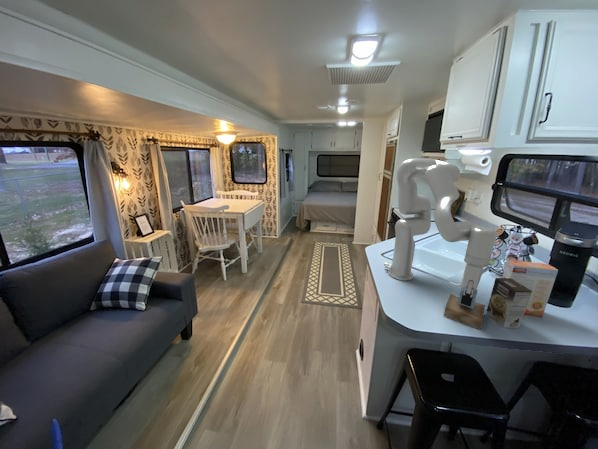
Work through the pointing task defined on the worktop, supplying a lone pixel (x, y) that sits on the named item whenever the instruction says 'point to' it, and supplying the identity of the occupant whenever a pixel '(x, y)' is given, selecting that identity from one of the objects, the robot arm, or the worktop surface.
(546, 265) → the cracker box
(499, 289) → the coffee box
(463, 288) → the blue block
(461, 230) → the robot arm
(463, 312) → the walnut base
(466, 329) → the worktop surface
